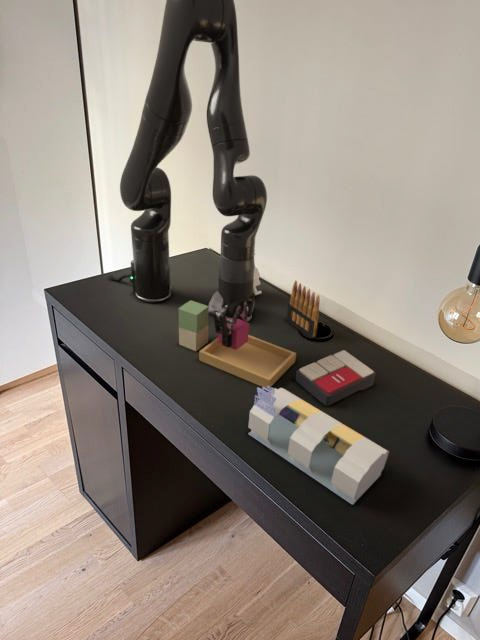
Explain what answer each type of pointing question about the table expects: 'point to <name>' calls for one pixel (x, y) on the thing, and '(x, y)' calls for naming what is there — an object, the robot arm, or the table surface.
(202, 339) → the cream block
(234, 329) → the pink block
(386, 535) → the table surface
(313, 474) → the diorama
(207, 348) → the tray
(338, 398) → the calculator
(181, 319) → the green block
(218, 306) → the stone block
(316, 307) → the ammunition clip
